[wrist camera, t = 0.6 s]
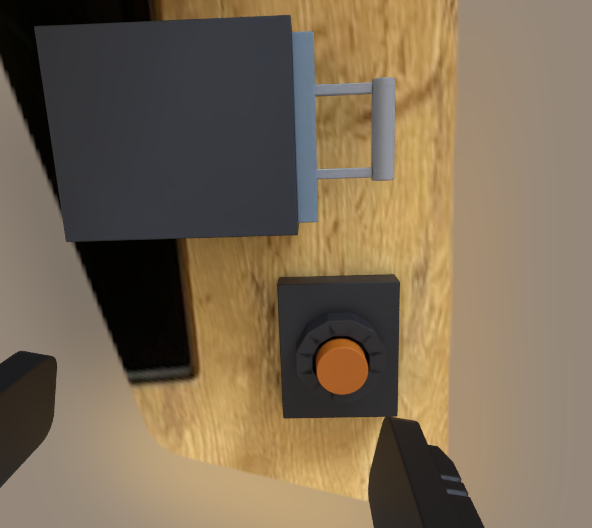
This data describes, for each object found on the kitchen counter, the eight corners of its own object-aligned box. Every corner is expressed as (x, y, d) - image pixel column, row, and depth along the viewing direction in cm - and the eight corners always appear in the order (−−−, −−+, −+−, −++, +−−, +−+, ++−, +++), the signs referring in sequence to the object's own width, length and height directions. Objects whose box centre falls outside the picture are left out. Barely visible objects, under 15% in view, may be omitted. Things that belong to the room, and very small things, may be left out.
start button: (315, 338, 33) (315, 348, 31) (365, 337, 33) (368, 346, 31) (316, 383, 34) (317, 395, 32) (365, 382, 34) (368, 394, 32)
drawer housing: (294, 52, 32) (290, 14, 24) (300, 216, 35) (297, 235, 26) (104, 60, 33) (33, 26, 24) (123, 222, 35) (65, 241, 27)
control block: (279, 277, 36) (275, 291, 32) (394, 274, 36) (405, 288, 32) (284, 404, 38) (282, 432, 34) (392, 402, 38) (402, 430, 34)
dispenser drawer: (383, 55, 31) (404, 26, 25) (382, 207, 34) (401, 219, 27) (132, 65, 32) (86, 40, 25) (148, 214, 34) (109, 228, 27)
